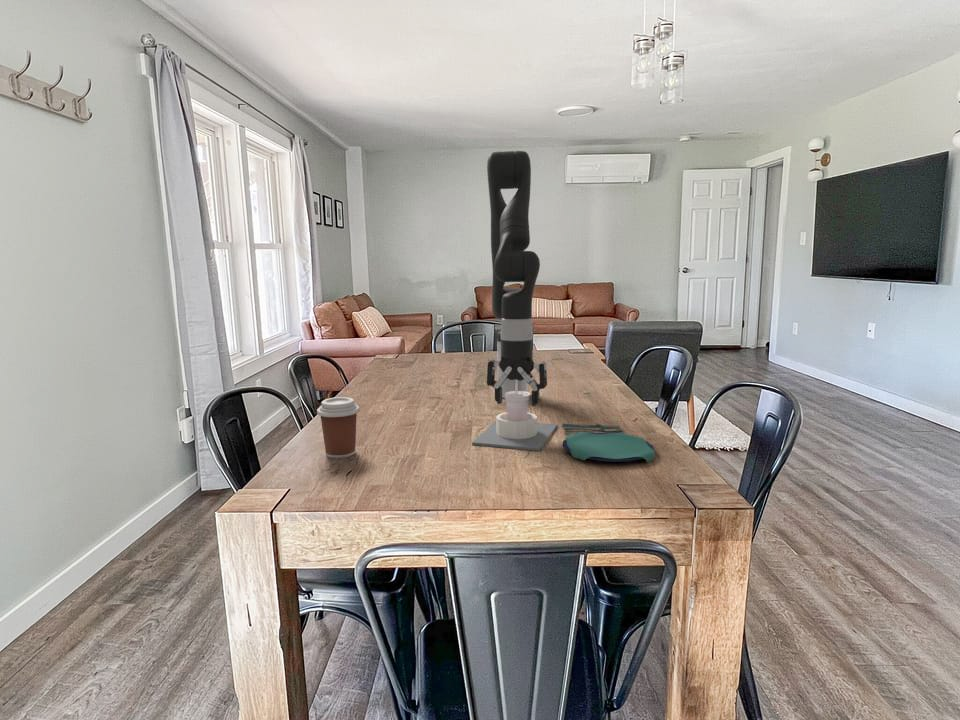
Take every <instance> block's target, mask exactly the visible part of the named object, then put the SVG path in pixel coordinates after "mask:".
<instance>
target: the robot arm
mask: <svg viewBox="0 0 960 720" xmlns="http://www.w3.org/2000/svg"><path fill="white" fill-rule="evenodd" d="M486 162H487V163H486V166H487V167H486V169H487V170H486V174H487V185H488V194H489V195H488V196H489V206H490V209H489V210H490V247H491V248H490V251H491V264H492V266H491V267H492V291H491V293H492V294H491V311H492V314H493V316H494V318H496V319H497V320H499V319H500V320H501V323H500V331H498V332H497V334H496V346H497V347H496V348H497V350H496V353H497V355H496V356H497V357H496V360H495V359H491V360H489V361H488V362H487V371H486V372H487V373H486V385H487V386H490V387H492V388H493V389H494V401H495V402H496V403H497V405H501V404H502V403H503V398H504V394H505V393H506V392H509V391H515V379H516V380H518V391H525V392H528V385H529V387H530V388H531V389H532V390H531V406H532V407H536V406H537V404H539V402H540V390H544V389H546V387H547V385H548V376H547V363H546V362H545V361H541V362H538V363H537V362H536V363H535V362H534V359H533V357H534V355H533V353H534V351H533V349H534V348H533V347H534V346H533V345H534V344H533V343H534V338H533V337H534V332H533V331H534V329H533V327H534V326H533V319H532V318H533V317H532V312H533V311H532V310H533V305H532V304H533V297H534V296H533V294H534V290H535V285H536V282H537V279H538V276H539V273H540V267H541V262H540V257H539V256H538V254H537V253H536V252H535V251H532V250H530V251H529V250H527V249H528V248H529V246H530V242H531V236H530V222H529V211H530V210H529V209H530V199H531V186H532V185H531V184H532V183H531V181H532V180H531V179H532V178H531V177H532V169H531V168H532V166H531V158H530V156H529V154H528V152H526V151H523V150H509V151H493V152H492V151H491V152H490V153H489V155H488V158H487V161H486ZM510 189H517V190H516V192H515V194H514V195H513V197H512V199H511V200H510V201H509V202H508V203H506V202H505V201H506V200H505V199H504V196H503V194H502V191H501V190H510ZM522 282H523V285H522V287H521V288H504V287H505V283H522ZM534 369H535V370H536V372H537V373H539V382H538V381H537V380H536V378H535V376H534V375H533V373H532V372H533V370H534ZM496 371H497V372H496ZM496 373H497V374H496ZM495 374H496V375H497V377H496V379H497V381H496V379H495ZM504 399H505V398H504Z"/></svg>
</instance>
